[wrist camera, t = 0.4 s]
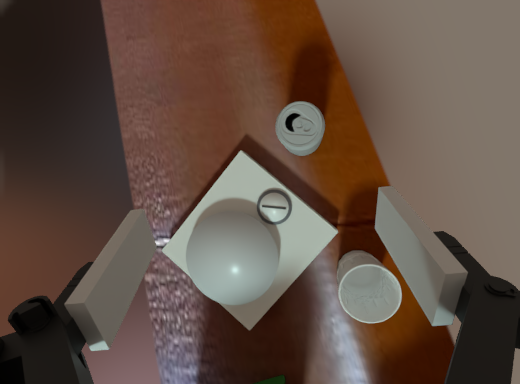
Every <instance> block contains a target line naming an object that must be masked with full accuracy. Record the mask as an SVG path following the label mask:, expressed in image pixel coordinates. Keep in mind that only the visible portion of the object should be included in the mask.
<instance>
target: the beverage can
mask: <svg viewBox="0 0 520 384" xmlns="http://www.w3.org/2000/svg"><path fill="white" fill-rule="evenodd" d="M275 127H276V134H277V136H278V139H279V140H280V142H281V143H282V144H283V145H284V146H285V147H286V148H287V149H288V150H289V151H290V152H291V153H293V154H295V155H300V156H304V155H308V154H311V153H312V152H314V151H315V150H316V149H317V148H318V147H319V145H320V143H321V140H322V137H323V134H324V130H325V121H324V117H323V115H322V113H321V111H320V110H319V109H318V108H317V107H316V106H315V105H313V104H311V103H309V102H305V101H297V102H293V103H291V104H289V105H287V106H286V107H285V108H283V109H282V110H281V112H280V113H279V115H278V117H277V120H276V126H275Z"/></svg>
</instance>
